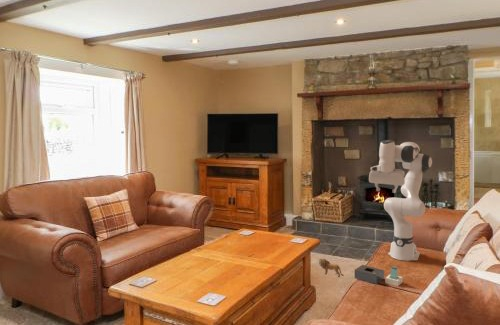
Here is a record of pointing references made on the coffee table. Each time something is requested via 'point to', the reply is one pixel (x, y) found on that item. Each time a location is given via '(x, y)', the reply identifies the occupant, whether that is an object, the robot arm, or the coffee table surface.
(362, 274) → the block
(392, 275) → the plug
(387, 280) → the white square block
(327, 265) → the lion figurine
